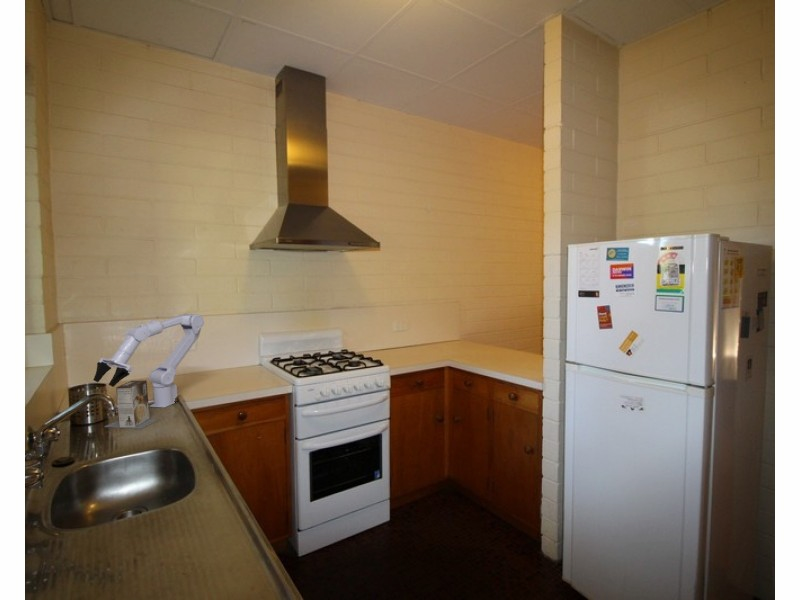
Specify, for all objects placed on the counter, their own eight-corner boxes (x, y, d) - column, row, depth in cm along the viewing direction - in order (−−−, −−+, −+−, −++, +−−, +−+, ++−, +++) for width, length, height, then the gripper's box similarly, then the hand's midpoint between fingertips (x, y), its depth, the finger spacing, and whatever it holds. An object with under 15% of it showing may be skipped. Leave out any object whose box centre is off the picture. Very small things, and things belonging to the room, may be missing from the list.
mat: (123, 418, 169) (123, 417, 169) (158, 420, 166) (158, 419, 166) (104, 427, 160) (104, 426, 160) (140, 429, 157) (140, 428, 157)
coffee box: (134, 418, 167) (131, 380, 166) (150, 418, 167) (147, 380, 166) (118, 427, 158) (115, 386, 157) (135, 427, 158) (132, 386, 157)
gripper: (103, 344, 168) (81, 375, 161) (132, 353, 165) (111, 384, 158) (114, 352, 174) (94, 381, 167) (143, 360, 171) (123, 390, 164)
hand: (103, 383), depth 163 cm, fingers open, 7 cm apart
